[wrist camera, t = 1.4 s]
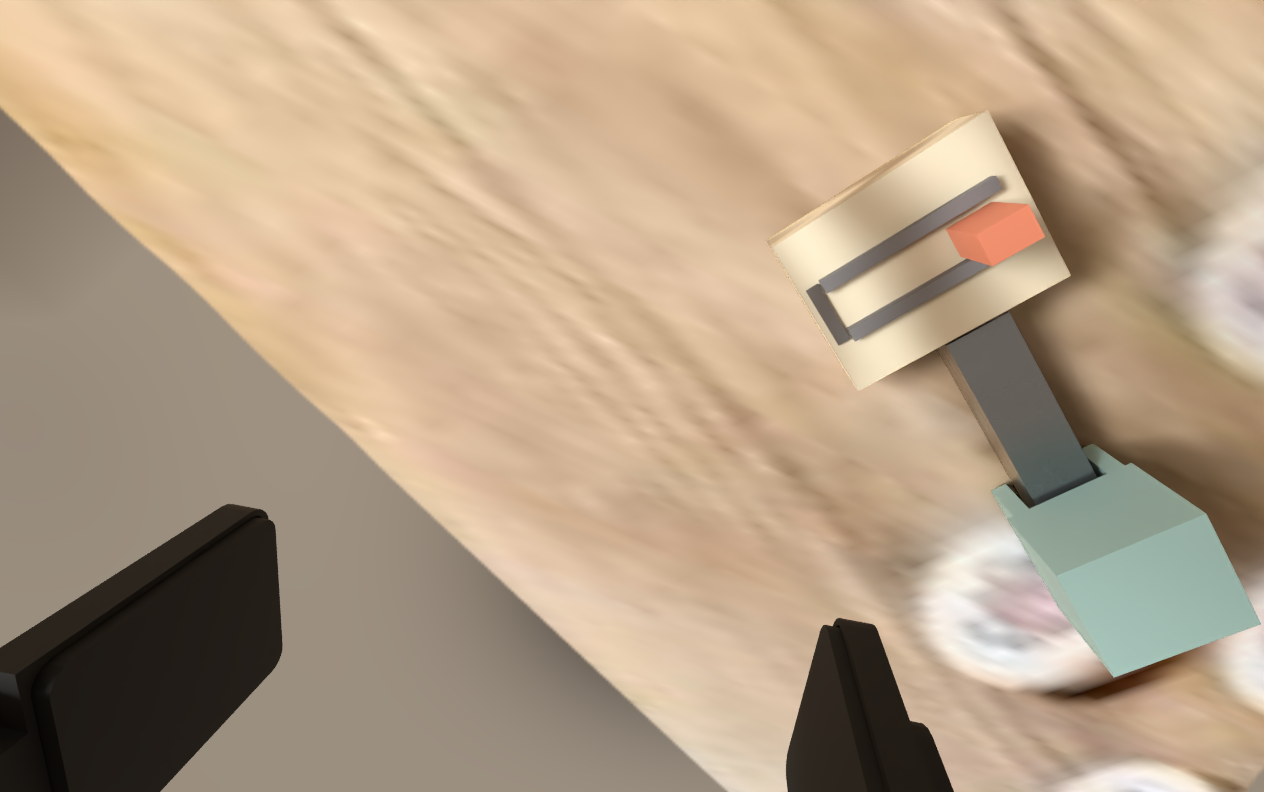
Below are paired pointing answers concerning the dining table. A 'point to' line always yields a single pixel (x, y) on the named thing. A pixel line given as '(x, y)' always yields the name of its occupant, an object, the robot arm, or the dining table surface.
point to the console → (913, 252)
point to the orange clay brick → (995, 232)
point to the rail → (1017, 410)
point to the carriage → (1131, 565)
